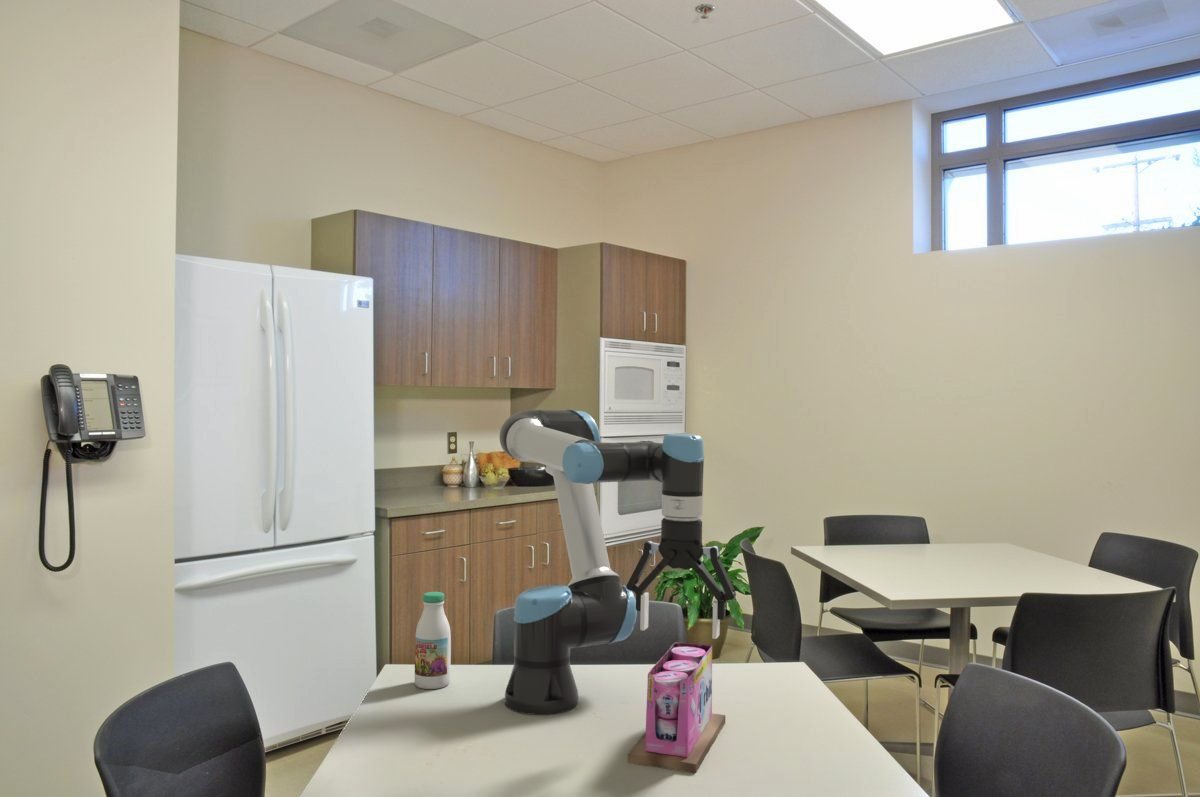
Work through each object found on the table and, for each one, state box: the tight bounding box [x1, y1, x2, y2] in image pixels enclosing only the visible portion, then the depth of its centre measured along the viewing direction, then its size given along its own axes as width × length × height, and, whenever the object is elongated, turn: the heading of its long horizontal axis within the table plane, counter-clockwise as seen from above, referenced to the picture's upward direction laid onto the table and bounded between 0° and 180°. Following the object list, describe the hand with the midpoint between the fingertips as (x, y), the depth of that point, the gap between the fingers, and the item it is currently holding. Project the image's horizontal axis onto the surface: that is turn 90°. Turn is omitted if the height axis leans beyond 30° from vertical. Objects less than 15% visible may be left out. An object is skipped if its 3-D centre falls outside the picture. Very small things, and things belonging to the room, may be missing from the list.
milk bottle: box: [414, 591, 452, 690], centre depth 189 cm, size 8×8×20 cm
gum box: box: [645, 641, 713, 757], centre depth 158 cm, size 24×8×14 cm, turn 162°
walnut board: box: [627, 712, 726, 774], centre depth 158 cm, size 12×25×2 cm, turn 160°
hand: (679, 633), depth 159 cm, fingers open, 13 cm apart
